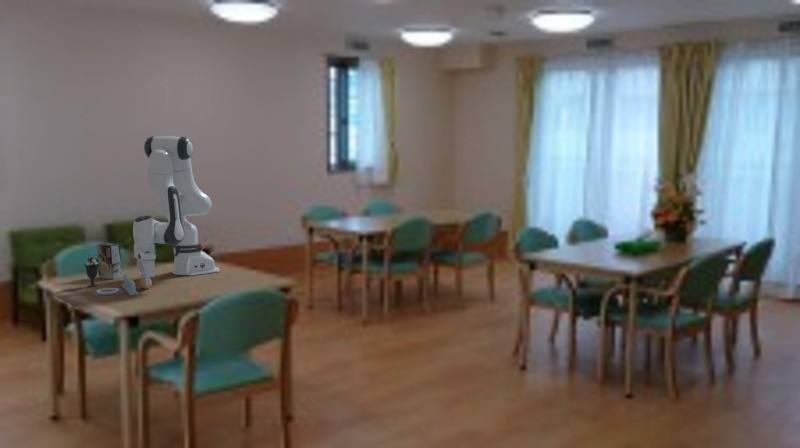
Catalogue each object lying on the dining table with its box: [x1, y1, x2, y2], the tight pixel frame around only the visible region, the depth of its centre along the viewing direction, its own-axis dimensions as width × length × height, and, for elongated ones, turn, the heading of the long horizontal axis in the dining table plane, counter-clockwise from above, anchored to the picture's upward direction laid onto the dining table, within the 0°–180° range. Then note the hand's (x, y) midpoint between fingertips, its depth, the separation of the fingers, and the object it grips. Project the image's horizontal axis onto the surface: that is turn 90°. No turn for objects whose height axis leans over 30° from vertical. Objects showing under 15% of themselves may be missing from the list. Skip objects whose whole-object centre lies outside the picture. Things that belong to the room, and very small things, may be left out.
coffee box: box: [96, 242, 123, 280], centre depth 361 cm, size 9×6×16 cm
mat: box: [90, 287, 126, 297], centre depth 330 cm, size 12×12×1 cm
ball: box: [139, 278, 153, 290], centre depth 338 cm, size 5×5×5 cm
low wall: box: [121, 274, 139, 296], centre depth 334 cm, size 3×22×5 cm, turn 29°
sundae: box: [83, 254, 99, 288], centre depth 342 cm, size 7×7×15 cm
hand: (146, 283), depth 338 cm, fingers closed on ball, 5 cm apart
